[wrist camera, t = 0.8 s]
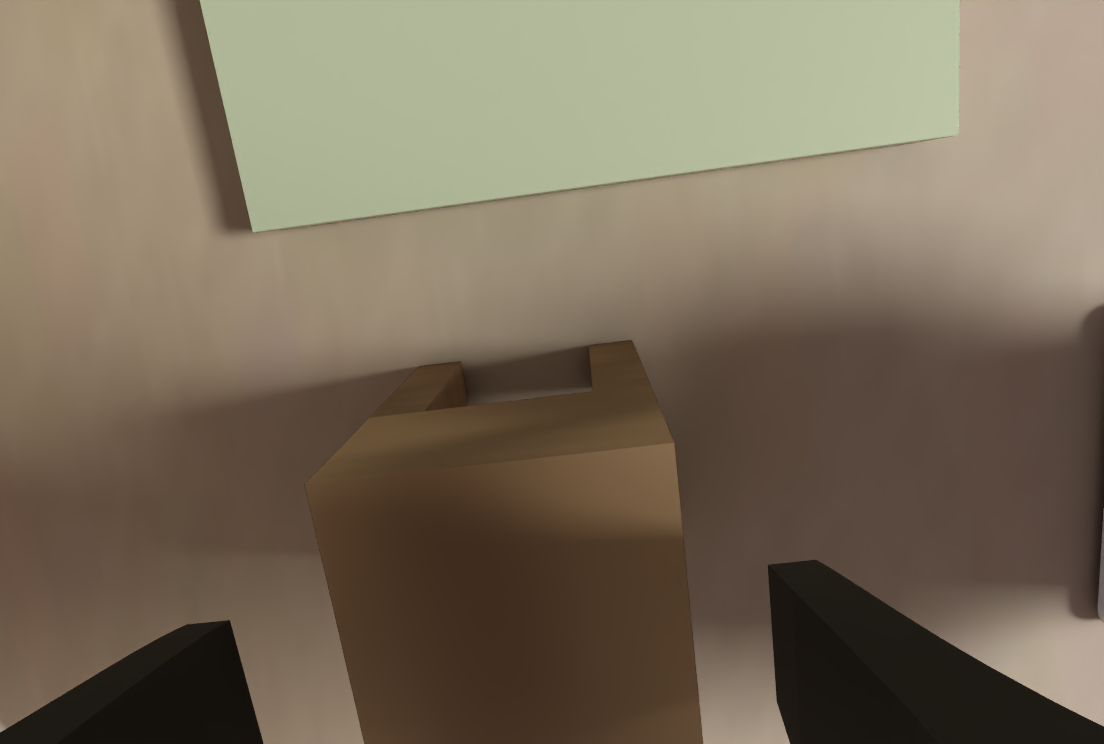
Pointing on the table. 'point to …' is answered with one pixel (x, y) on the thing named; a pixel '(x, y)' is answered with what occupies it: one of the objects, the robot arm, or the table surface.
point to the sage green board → (559, 93)
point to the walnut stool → (512, 565)
